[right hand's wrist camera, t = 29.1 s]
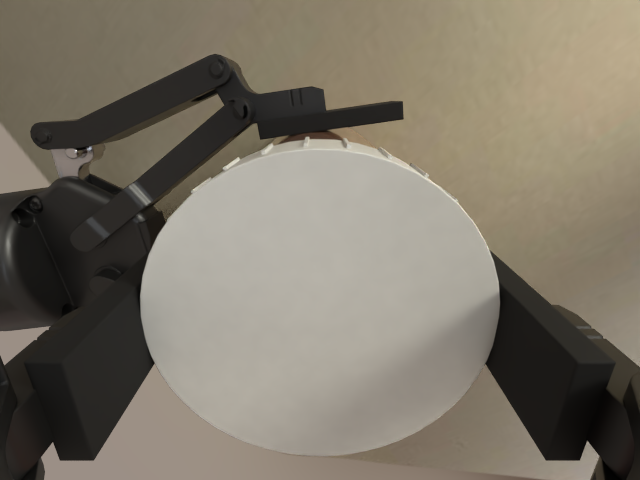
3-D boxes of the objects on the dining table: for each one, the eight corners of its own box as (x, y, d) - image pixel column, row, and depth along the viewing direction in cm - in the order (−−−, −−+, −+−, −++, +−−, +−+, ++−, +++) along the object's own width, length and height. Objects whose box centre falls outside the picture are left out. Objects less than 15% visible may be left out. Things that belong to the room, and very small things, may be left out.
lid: (531, 204, 11) (579, 228, 9) (394, 433, 15) (406, 487, 13) (208, 81, 10) (179, 77, 8) (143, 364, 13) (112, 412, 11)
